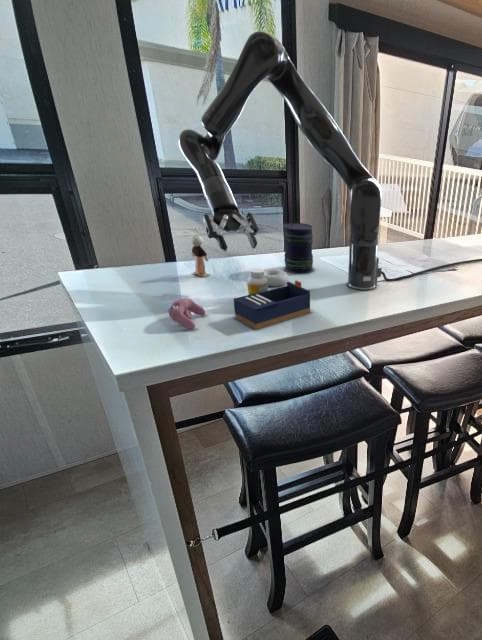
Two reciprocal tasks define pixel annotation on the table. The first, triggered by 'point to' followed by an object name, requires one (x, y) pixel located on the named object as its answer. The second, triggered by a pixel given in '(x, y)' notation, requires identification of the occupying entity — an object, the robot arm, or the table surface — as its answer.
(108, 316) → the table surface
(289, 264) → the storage jar
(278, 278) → the donut
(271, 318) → the navy storage tray
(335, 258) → the table surface
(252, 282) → the supplement bottle
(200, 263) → the grandmother figurine
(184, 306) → the video game controller
